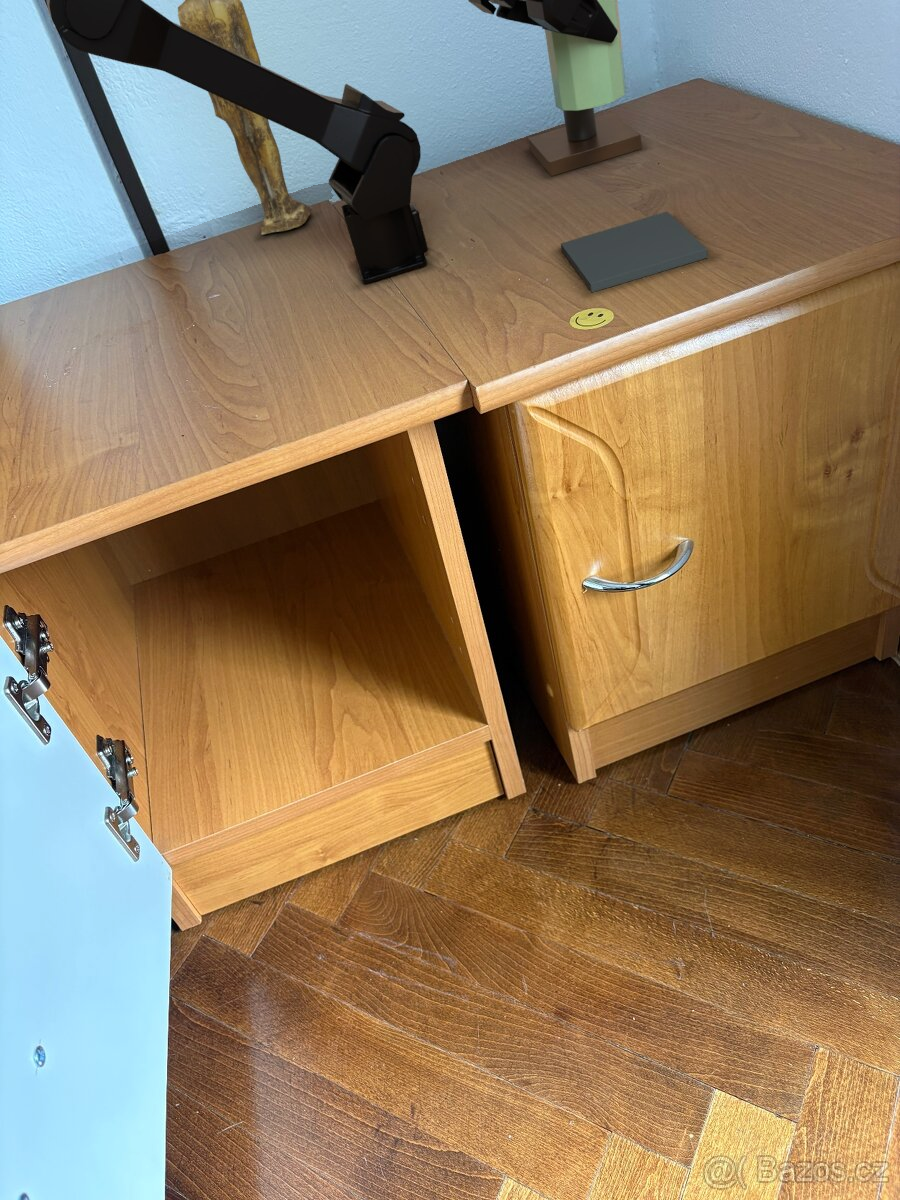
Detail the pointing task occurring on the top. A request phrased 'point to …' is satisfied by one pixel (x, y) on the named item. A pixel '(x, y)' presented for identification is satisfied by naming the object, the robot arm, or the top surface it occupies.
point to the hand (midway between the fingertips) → (597, 33)
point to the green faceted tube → (587, 67)
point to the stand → (584, 141)
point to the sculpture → (246, 112)
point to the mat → (632, 251)
